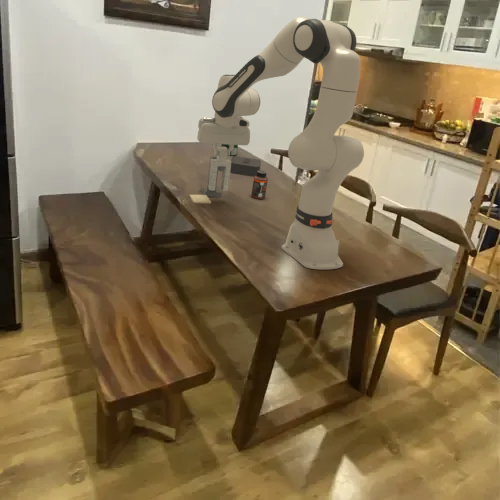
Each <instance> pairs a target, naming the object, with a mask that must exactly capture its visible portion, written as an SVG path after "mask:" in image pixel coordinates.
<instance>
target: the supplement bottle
mask: <svg viewBox="0 0 500 500" xmlns="http://www.w3.org/2000/svg"><path fill="white" fill-rule="evenodd" d="M268 180H269V178H268V176H267V171H265V170H260V171H257V175H256V176H253V181H252V189H251V198H254V199H256V200H257V199H258V200H263V199H265V198H266V193H267V186H268Z"/></svg>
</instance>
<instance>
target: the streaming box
mask: <svg viewBox="0 0 500 500" xmlns="http://www.w3.org/2000/svg"><path fill="white" fill-rule="evenodd" d="M230 161H231V169H230V174H231V173H232V174H237V175H243V176H248V177H249V176H250V177H254V176H256V175H257V171H261V165H262V161H261V160H260V159H258V158H252V157H251V158H250V157H245V156H244V157H243V156H237V155H234V156H231V160H230Z"/></svg>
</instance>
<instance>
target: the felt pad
mask: <svg viewBox="0 0 500 500" xmlns="http://www.w3.org/2000/svg"><path fill="white" fill-rule="evenodd" d="M190 197H191V198H190ZM189 198H190V199H191V200H192V203H194V204H212V201H211V199H210V197H207V195H204V194H189Z"/></svg>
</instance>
